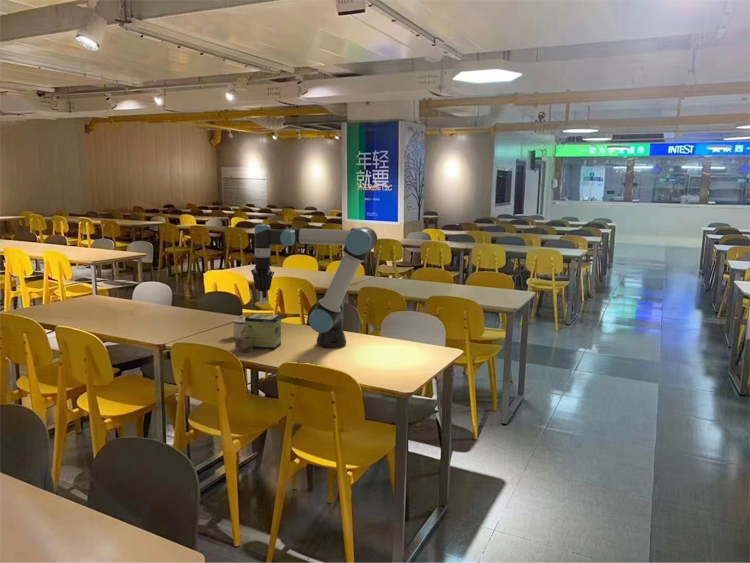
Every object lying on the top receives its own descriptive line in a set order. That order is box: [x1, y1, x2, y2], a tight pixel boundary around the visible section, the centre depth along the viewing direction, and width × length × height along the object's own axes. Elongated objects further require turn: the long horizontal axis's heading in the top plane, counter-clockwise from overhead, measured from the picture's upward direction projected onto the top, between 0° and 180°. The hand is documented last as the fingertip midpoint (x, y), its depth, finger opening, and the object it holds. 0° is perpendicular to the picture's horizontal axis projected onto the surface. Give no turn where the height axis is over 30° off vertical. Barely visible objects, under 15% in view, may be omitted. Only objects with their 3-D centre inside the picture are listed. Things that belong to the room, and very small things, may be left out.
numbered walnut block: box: [234, 337, 254, 354], centre depth 276 cm, size 6×6×6 cm
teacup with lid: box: [232, 314, 246, 339], centre depth 301 cm, size 12×9×12 cm
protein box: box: [245, 313, 282, 351], centre depth 283 cm, size 10×16×16 cm
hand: (262, 304), depth 280 cm, fingers closed
